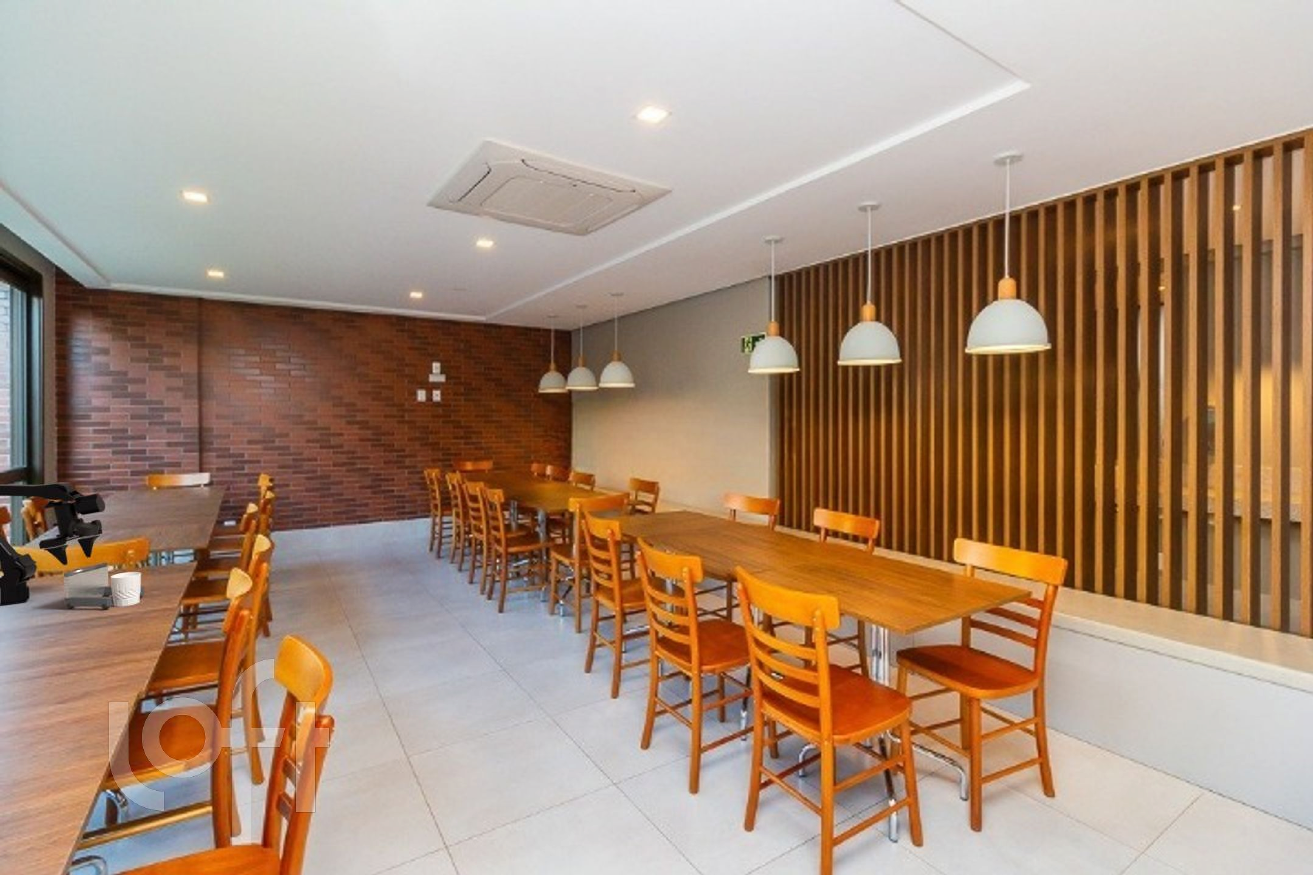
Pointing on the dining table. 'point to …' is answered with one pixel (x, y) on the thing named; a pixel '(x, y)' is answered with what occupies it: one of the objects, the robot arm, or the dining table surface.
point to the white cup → (126, 588)
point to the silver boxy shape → (89, 587)
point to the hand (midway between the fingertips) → (77, 561)
